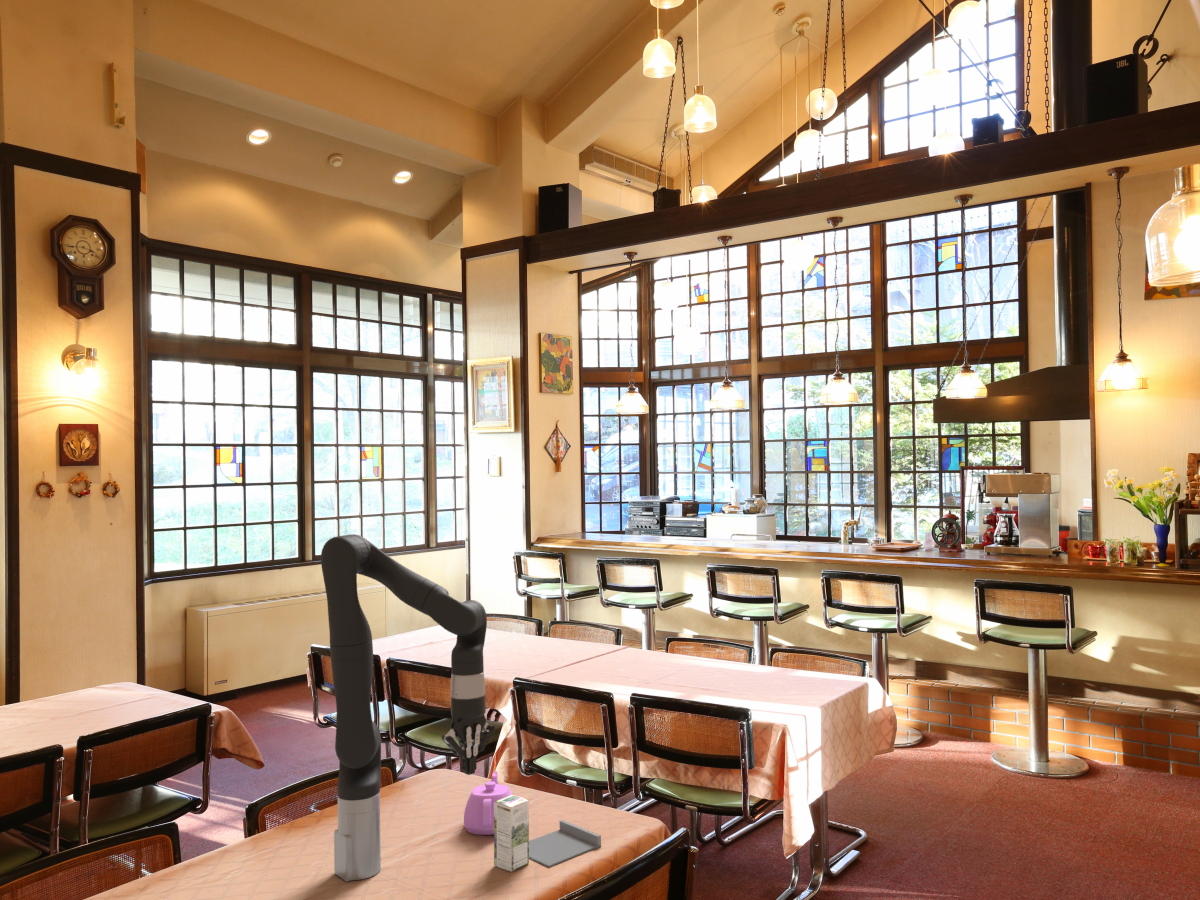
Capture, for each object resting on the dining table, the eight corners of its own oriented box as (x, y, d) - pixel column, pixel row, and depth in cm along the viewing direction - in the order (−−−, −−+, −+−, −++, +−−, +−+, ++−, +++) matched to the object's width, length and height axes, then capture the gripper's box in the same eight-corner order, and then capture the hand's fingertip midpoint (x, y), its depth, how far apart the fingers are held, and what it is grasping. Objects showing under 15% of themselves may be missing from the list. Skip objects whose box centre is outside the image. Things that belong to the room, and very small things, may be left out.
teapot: (520, 811, 227) (520, 768, 228) (513, 842, 207) (513, 795, 208) (470, 812, 227) (469, 769, 228) (458, 843, 207) (457, 796, 208)
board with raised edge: (548, 867, 193) (548, 856, 193) (511, 849, 203) (510, 838, 203) (601, 846, 203) (600, 835, 204) (562, 830, 214) (562, 819, 214)
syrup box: (511, 857, 198) (510, 793, 199) (530, 864, 195) (529, 798, 195) (493, 866, 194) (492, 800, 195) (512, 873, 190) (511, 806, 191)
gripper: (451, 701, 181) (453, 785, 181) (502, 690, 190) (504, 770, 190) (432, 696, 187) (434, 777, 186) (482, 685, 196) (484, 762, 195)
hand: (469, 773), depth 188 cm, fingers closed
